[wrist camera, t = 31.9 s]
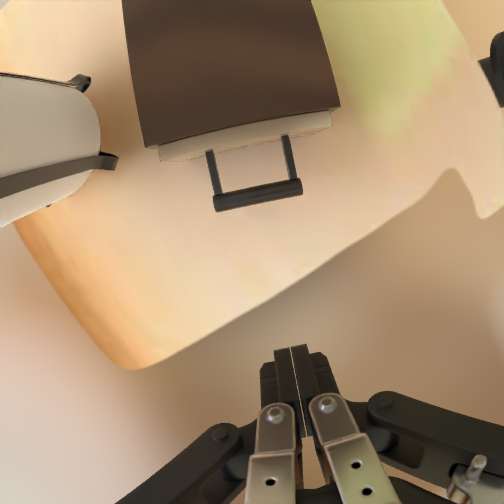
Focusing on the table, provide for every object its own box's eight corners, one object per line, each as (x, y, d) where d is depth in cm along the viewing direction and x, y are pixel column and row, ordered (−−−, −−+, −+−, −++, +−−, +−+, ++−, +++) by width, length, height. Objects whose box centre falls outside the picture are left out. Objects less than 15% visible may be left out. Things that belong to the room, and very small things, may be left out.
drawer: (323, 184, 29) (345, 191, 22) (193, 211, 30) (175, 226, 23) (276, -5, 24) (283, -43, 17) (154, 22, 24) (130, -10, 17)
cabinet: (314, 122, 28) (341, 106, 20) (175, 151, 29) (144, 147, 20) (276, -17, 24) (284, -67, 15) (148, 10, 25) (118, -31, 16)
